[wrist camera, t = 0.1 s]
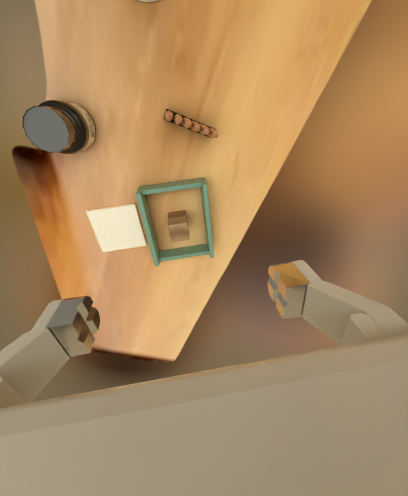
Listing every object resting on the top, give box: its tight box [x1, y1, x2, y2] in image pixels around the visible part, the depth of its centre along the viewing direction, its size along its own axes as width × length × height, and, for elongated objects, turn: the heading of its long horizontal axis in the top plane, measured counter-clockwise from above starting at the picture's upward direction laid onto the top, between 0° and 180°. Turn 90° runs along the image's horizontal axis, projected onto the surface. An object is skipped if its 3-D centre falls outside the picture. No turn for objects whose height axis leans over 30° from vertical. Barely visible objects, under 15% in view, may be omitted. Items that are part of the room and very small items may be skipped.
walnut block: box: [168, 210, 190, 242], centre depth 56 cm, size 4×4×8 cm
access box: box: [136, 178, 214, 266], centre depth 57 cm, size 20×16×6 cm
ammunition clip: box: [164, 109, 218, 138], centre depth 43 cm, size 11×2×12 cm, turn 70°
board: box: [86, 203, 147, 252], centre depth 59 cm, size 12×12×1 cm
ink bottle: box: [23, 100, 96, 154], centre depth 41 cm, size 10×9×12 cm
